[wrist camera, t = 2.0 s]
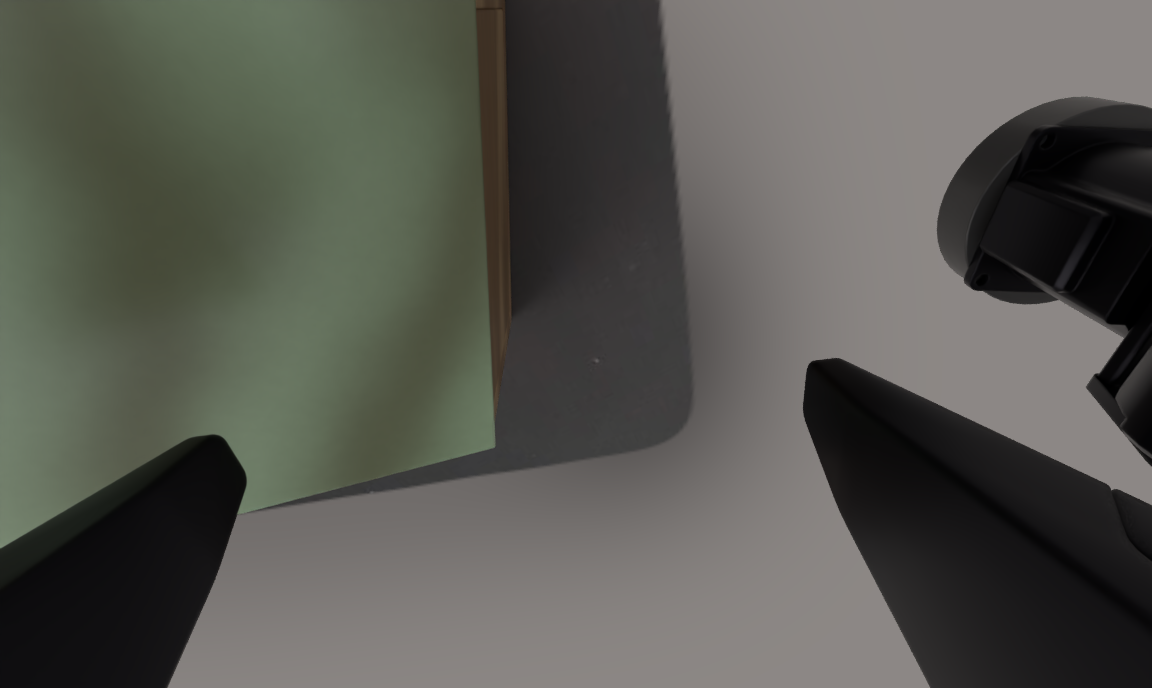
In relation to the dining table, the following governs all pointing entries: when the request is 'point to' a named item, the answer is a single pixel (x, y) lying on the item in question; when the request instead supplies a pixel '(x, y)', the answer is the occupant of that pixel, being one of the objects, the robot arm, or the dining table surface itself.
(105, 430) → the box lid
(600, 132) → the dining table surface
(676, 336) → the dining table surface
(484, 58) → the keepsake box
